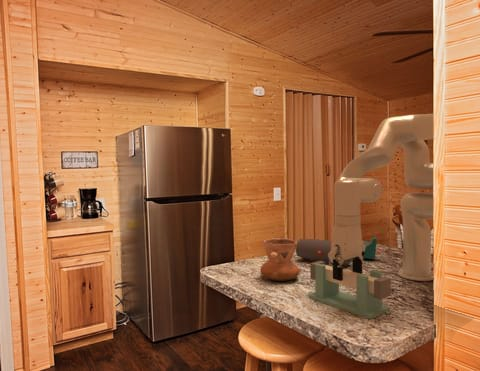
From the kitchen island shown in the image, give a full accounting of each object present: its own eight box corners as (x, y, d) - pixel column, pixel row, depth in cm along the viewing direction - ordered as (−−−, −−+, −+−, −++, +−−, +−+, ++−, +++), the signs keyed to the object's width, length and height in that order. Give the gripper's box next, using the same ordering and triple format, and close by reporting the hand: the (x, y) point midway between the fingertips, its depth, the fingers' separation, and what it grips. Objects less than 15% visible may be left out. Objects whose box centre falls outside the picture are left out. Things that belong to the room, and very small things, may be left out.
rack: (328, 290, 124) (328, 258, 123) (389, 310, 106) (390, 272, 106) (308, 297, 117) (308, 263, 117) (370, 319, 100) (370, 279, 100)
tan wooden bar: (320, 275, 123) (320, 260, 123) (390, 295, 103) (390, 278, 103) (310, 278, 120) (310, 263, 120) (380, 299, 100) (380, 281, 100)
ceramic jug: (292, 287, 128) (293, 246, 127) (253, 282, 133) (253, 243, 133) (304, 274, 144) (305, 238, 144) (269, 270, 150) (269, 235, 149)
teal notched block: (374, 262, 161) (376, 239, 160) (348, 259, 164) (350, 236, 163) (371, 253, 178) (373, 231, 177) (348, 250, 181) (350, 229, 180)
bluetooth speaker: (295, 261, 162) (295, 239, 162) (304, 257, 170) (304, 235, 169) (345, 269, 149) (345, 245, 148) (353, 264, 156) (353, 241, 155)
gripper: (353, 216, 119) (354, 268, 120) (318, 222, 108) (319, 279, 109) (374, 218, 113) (374, 273, 114) (340, 225, 102) (340, 285, 103)
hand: (347, 276), depth 112 cm, fingers open, 9 cm apart
